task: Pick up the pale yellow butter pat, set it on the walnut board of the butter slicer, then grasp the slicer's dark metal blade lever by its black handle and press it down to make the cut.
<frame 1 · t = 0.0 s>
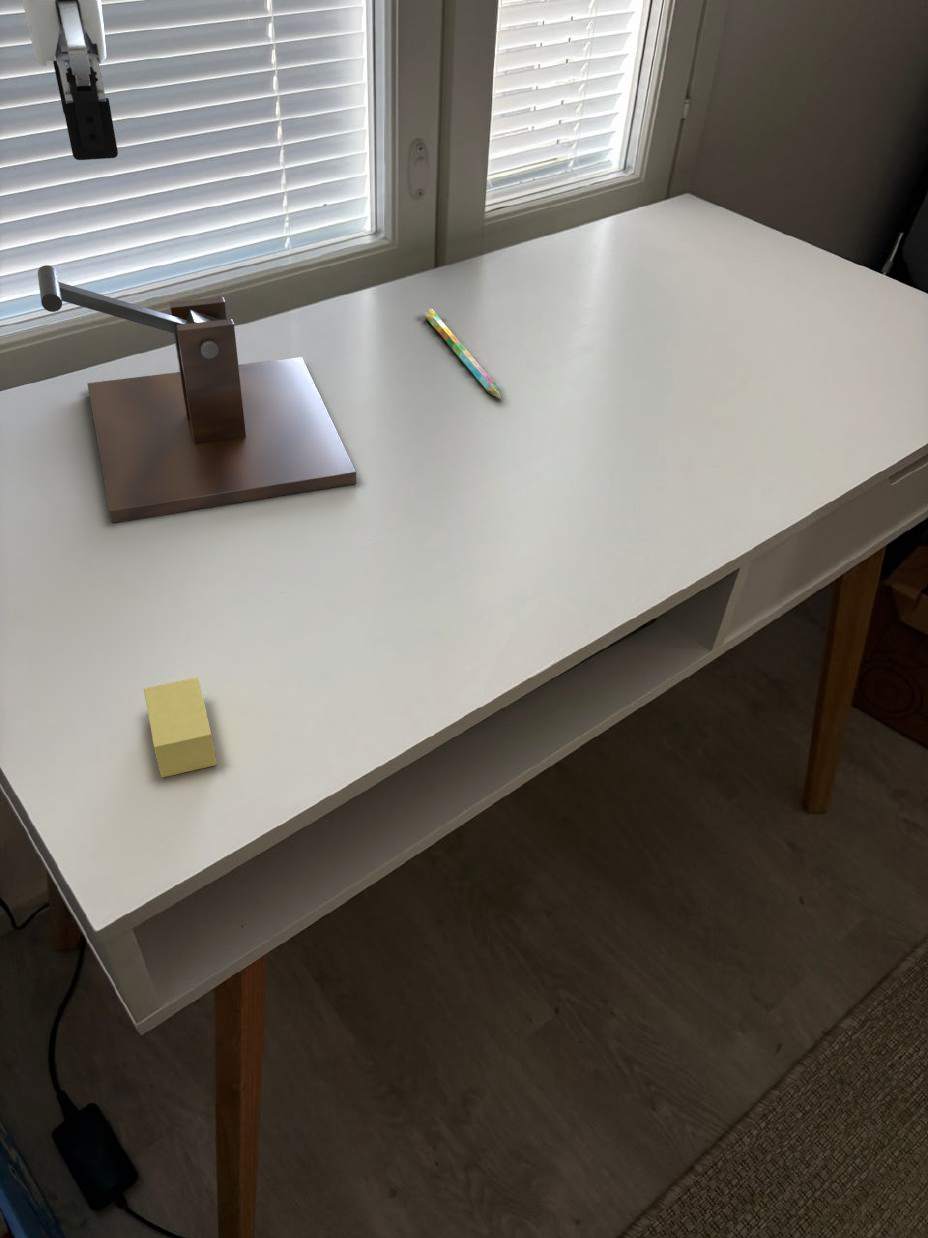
hand: (90, 135, 78), 23 cm above the table, tool pointing down, fingers open, 9 cm apart
pencil: (462, 360, 102), on the table
butter: (183, 742, 64), on the table
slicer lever: (134, 312, 80), point 12 cm above the table, hinge at 25.0°
slicer: (217, 437, 90), on the table
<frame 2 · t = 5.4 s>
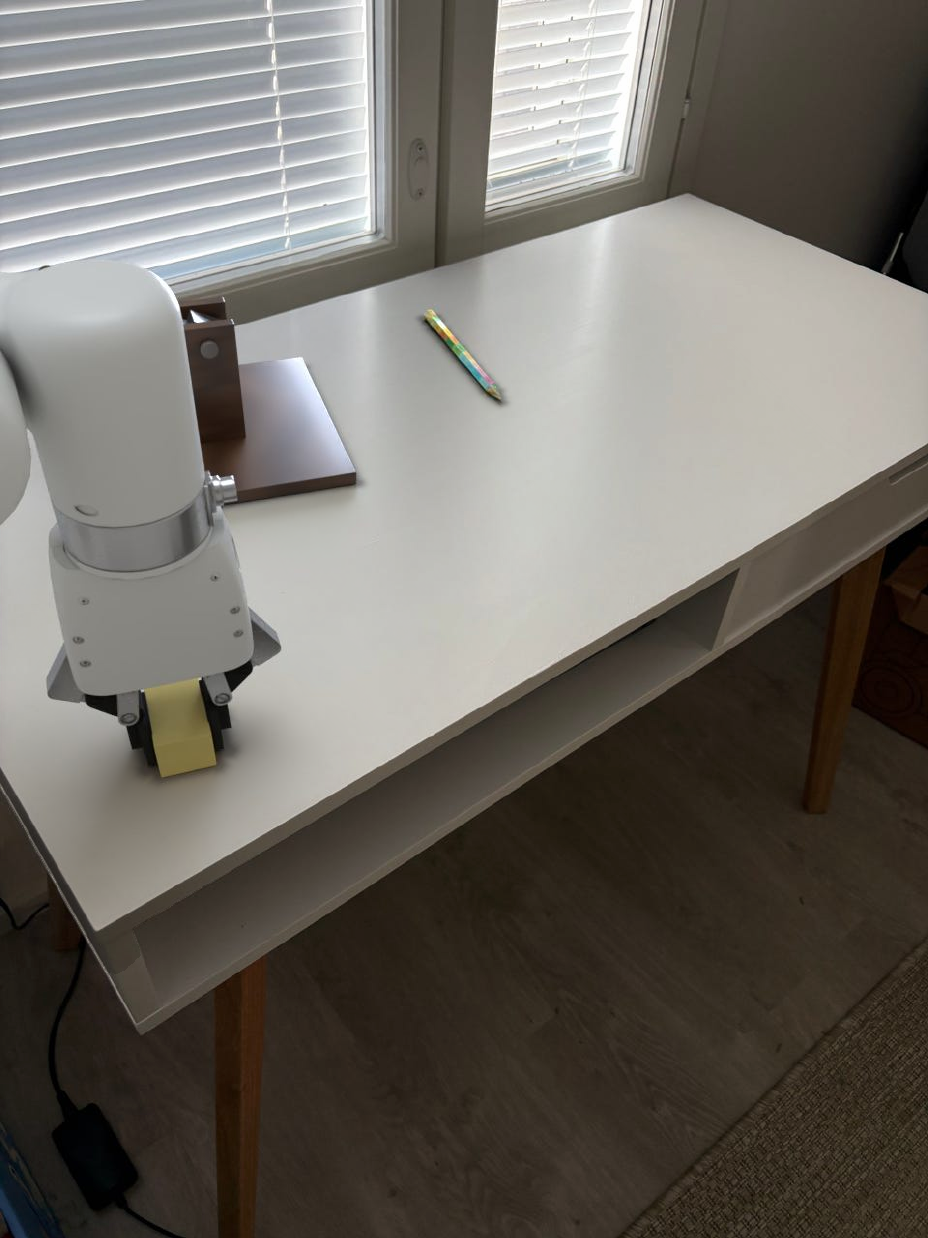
hand: (182, 739, 64), 0 cm above the table, tool pointing down, fingers closed on butter, 3 cm apart
butter: (183, 742, 64), on the table, touching gripper
everything else where it was.
when the fingers open (1 cm above the table, at t = 13.4 s): butter stays where it is, resting on slicer.
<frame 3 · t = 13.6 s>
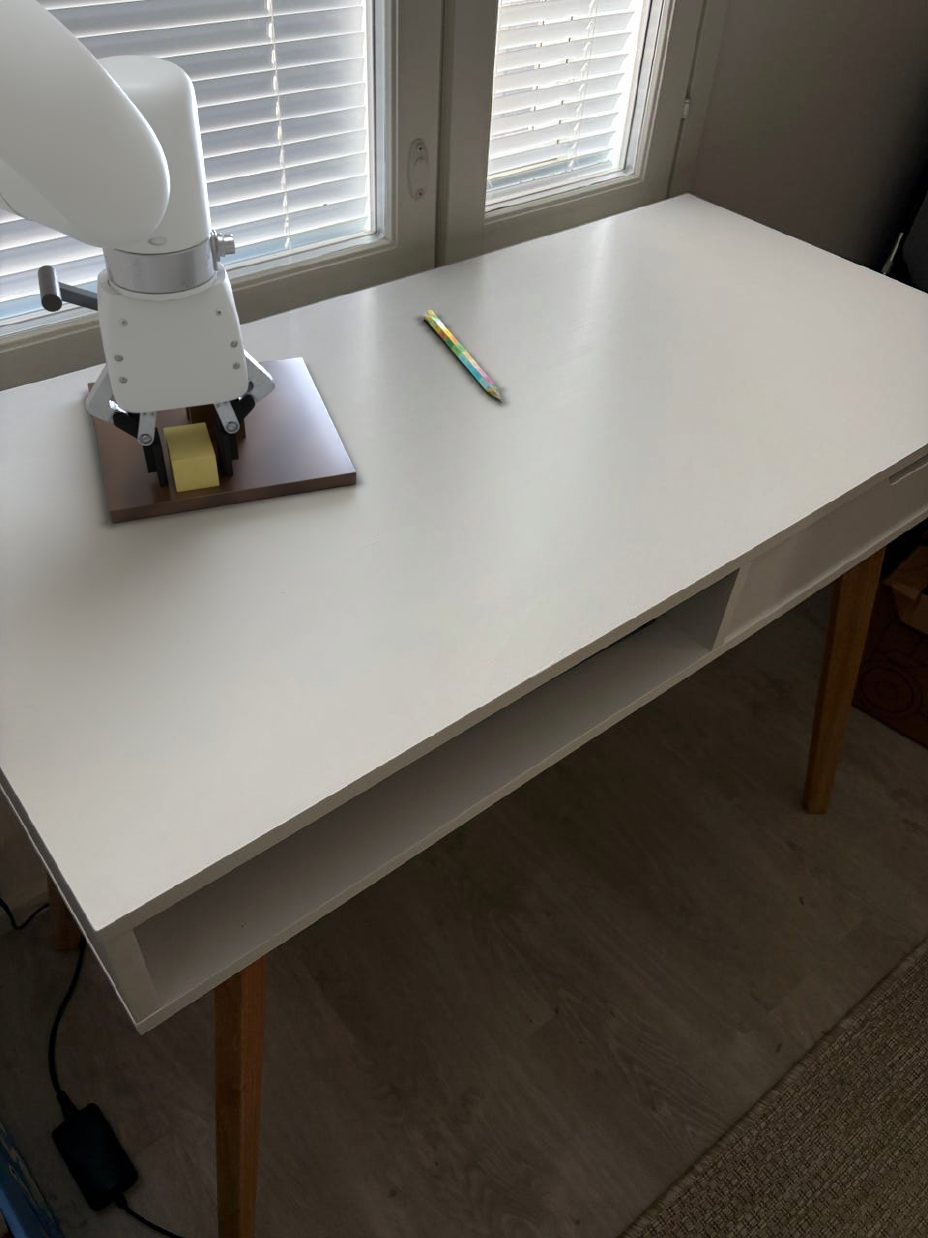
hand: (194, 469, 83), 1 cm above the table, tool pointing down, fingers open, 4 cm apart
butter: (193, 471, 84), point 1 cm above the table, touching slicer
everything else where it was.
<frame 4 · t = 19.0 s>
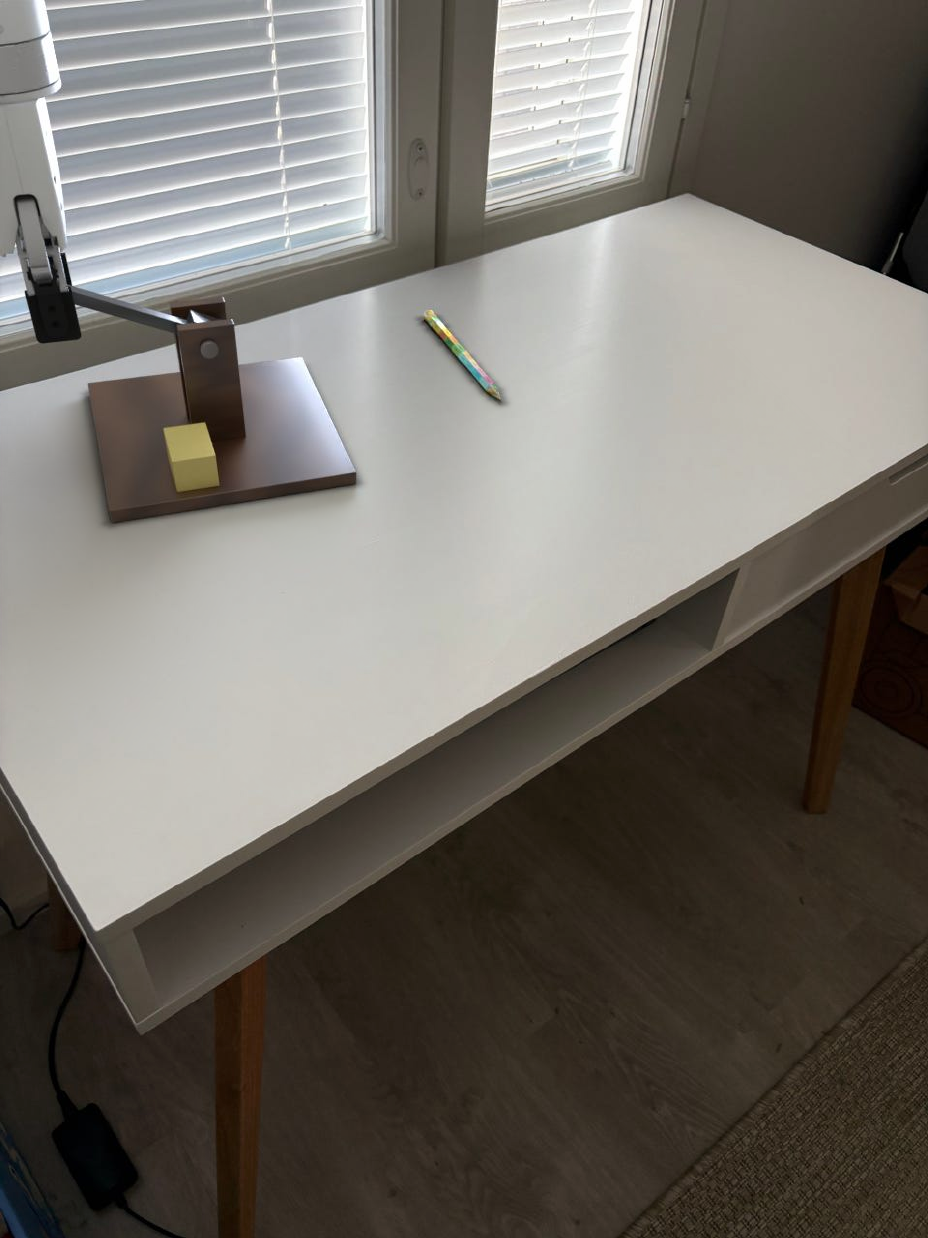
hand: (56, 319, 78), 13 cm above the table, tool pointing down, fingers closed on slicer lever, 5 cm apart
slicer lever: (134, 312, 80), point 12 cm above the table, hinge at 25.0°, touching gripper
everything else where it was.
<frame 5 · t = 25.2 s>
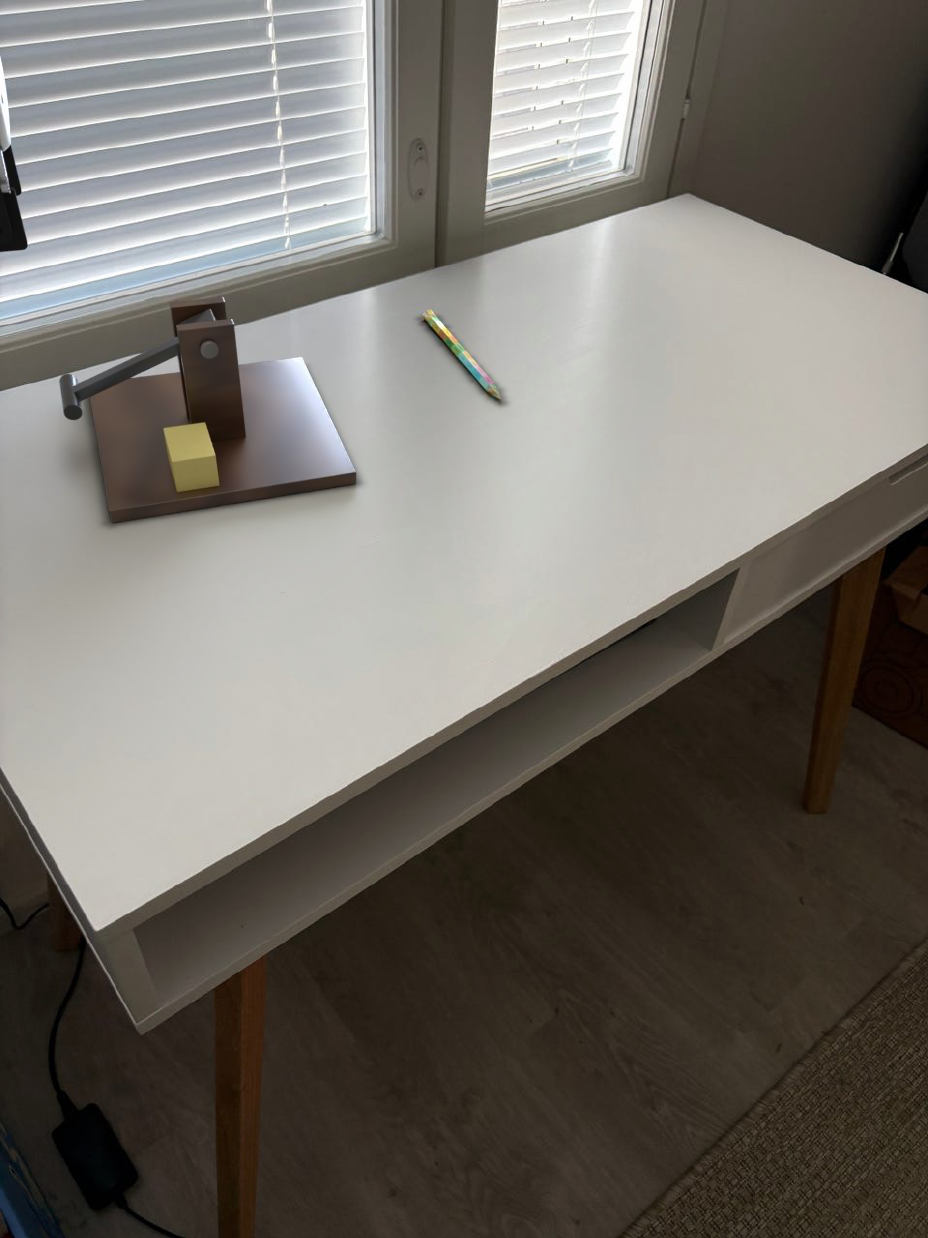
hand: (1, 221, 72), 20 cm above the table, tool pointing down, fingers open, 9 cm apart
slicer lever: (141, 363, 83), point 8 cm above the table, hinge at -20.6°
everything else where it was.
at the end: butter 0.1 cm from the target spot on the slicer, point 1.2 cm above the slicer's base; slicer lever at -21° (first picture: +25°) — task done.
